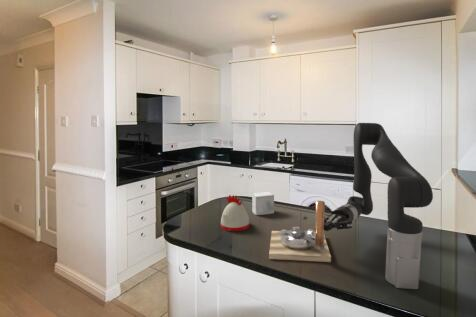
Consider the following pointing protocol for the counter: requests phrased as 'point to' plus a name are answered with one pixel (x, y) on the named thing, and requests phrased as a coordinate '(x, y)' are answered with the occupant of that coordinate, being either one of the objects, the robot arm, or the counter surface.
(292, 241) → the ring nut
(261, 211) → the skincare box
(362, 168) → the robot arm
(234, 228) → the kitchen timer
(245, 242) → the counter surface
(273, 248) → the nut base plate
